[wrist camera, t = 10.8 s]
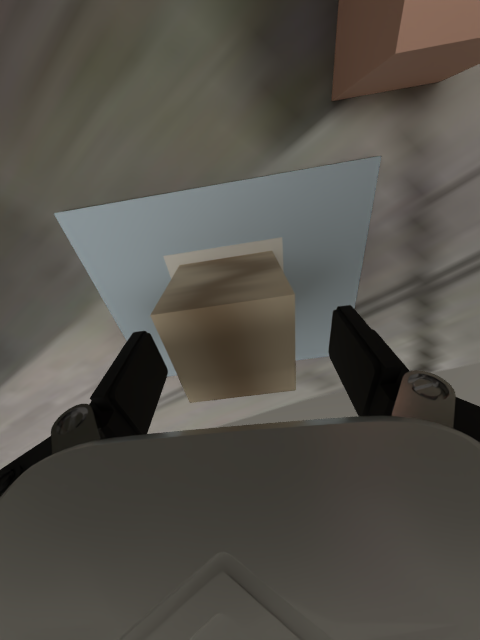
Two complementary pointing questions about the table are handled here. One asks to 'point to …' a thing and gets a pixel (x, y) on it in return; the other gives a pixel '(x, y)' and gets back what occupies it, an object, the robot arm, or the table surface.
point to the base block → (229, 327)
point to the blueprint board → (234, 242)
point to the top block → (402, 44)
